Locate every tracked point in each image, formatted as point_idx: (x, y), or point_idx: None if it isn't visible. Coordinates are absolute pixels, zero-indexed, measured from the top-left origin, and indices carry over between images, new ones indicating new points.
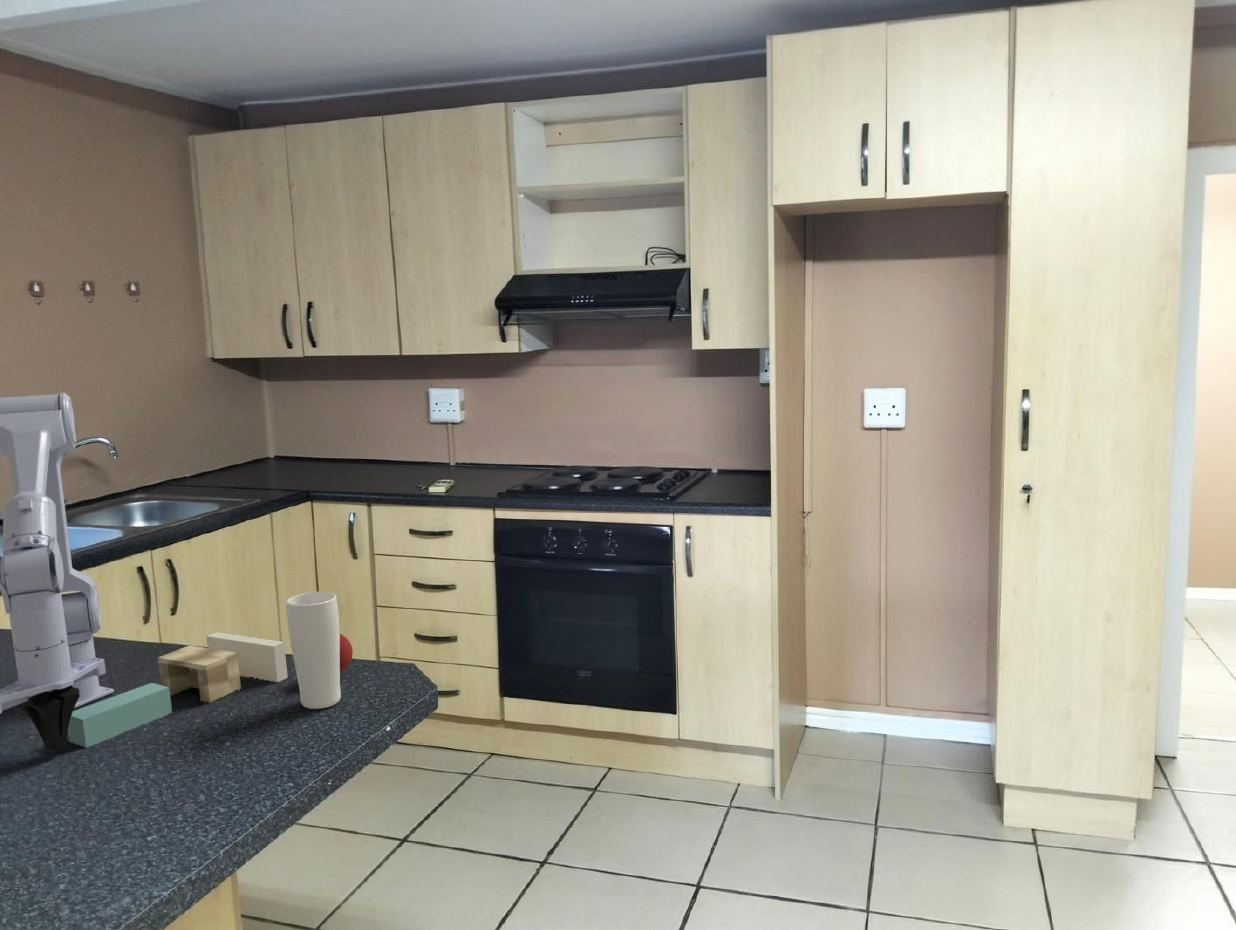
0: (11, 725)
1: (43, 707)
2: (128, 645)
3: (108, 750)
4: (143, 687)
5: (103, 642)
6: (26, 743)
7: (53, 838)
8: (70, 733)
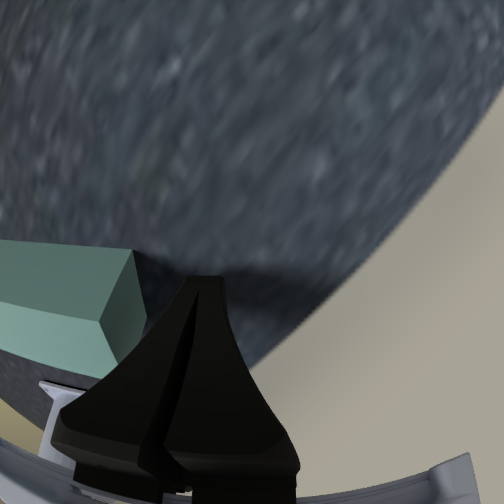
0: None
1: (286, 453)
2: (30, 419)
3: (98, 167)
4: None
5: None
6: None
7: None
8: (138, 328)
